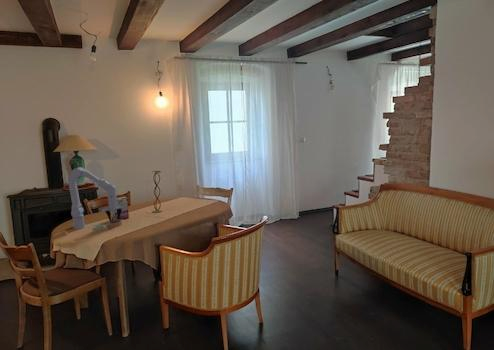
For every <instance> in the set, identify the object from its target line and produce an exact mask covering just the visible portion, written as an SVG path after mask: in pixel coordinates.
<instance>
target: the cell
mask: <svg viewBox="0 0 494 350" xmlns="http://www.w3.org/2000/svg"><path fill="white" fill-rule="evenodd" d="M111 220H112V223H116V222H118V220H117V216H114V217H113V216H111Z"/></svg>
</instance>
